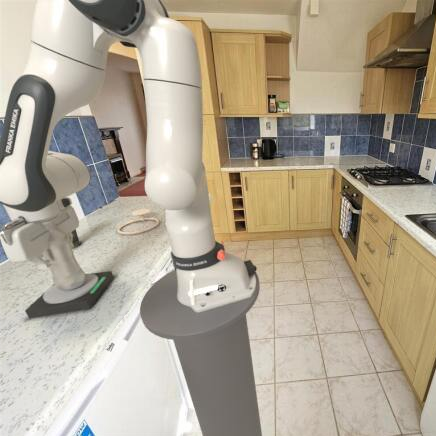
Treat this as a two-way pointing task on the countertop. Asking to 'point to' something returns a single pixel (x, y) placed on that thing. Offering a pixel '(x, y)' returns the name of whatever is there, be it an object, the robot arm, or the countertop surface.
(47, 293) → the kitchen scale
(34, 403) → the countertop surface
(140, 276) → the countertop surface
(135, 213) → the hand towel holder
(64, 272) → the plastic bottle
